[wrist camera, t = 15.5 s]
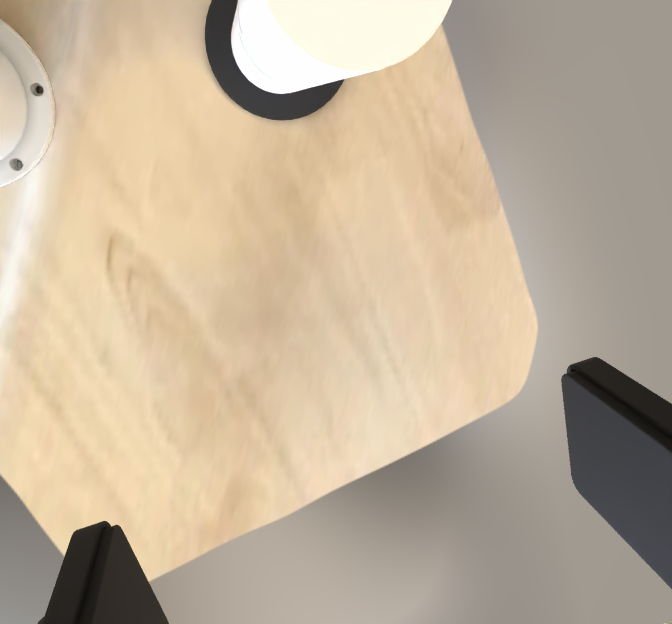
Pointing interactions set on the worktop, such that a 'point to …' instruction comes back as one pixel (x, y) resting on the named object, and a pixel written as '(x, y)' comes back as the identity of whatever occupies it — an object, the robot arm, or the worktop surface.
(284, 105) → the coaster
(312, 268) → the worktop surface
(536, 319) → the worktop surface
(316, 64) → the cylindrical container
